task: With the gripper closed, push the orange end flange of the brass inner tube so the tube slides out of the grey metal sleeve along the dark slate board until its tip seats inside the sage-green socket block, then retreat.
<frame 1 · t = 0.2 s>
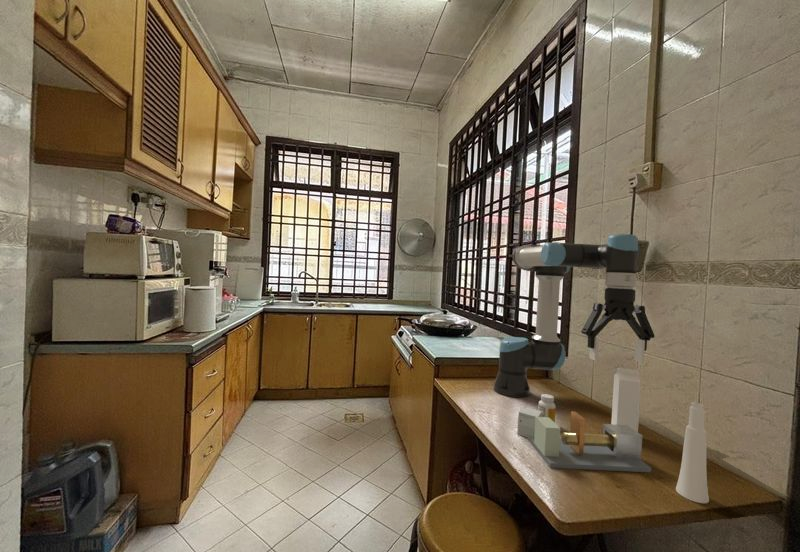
hand: (616, 360, 98), 27 cm above the countertop, fingers open, 13 cm apart
tube: (599, 433, 96), point 6 cm above the countertop, slide at 0.0 cm
board: (585, 455, 96), on the countertop
supplement bottle: (545, 424, 116), on the countertop
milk: (623, 436, 111), on the countertop
sleeve: (620, 457, 96), resting on board
cosmetic bottle: (691, 496, 81), on the countertop
socket: (545, 453, 96), resting on board
product box: (529, 434, 108), on the countertop
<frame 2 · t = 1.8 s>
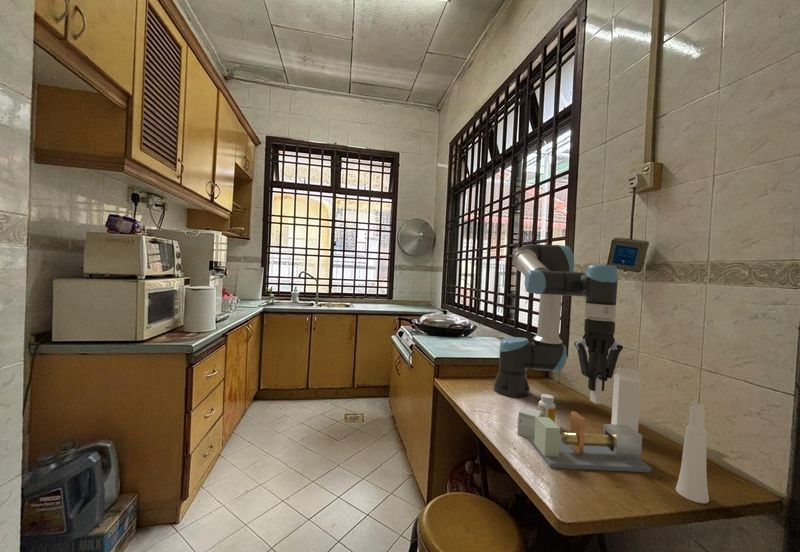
hand: (595, 401, 96), 16 cm above the countertop, fingers closed
nothing on the countertop moved.
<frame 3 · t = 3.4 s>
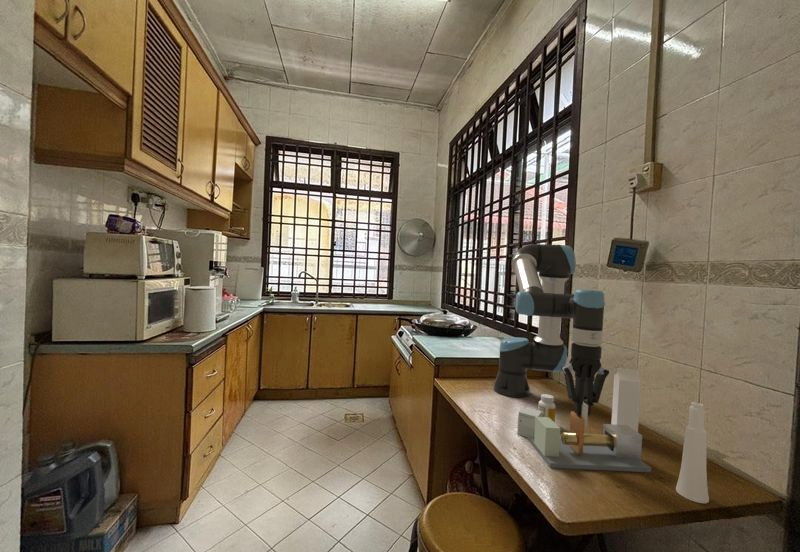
hand: (581, 426, 96), 8 cm above the countertop, fingers closed
tube: (598, 433, 96), point 6 cm above the countertop, slide at 0.1 cm, touching gripper
everything else where it was.
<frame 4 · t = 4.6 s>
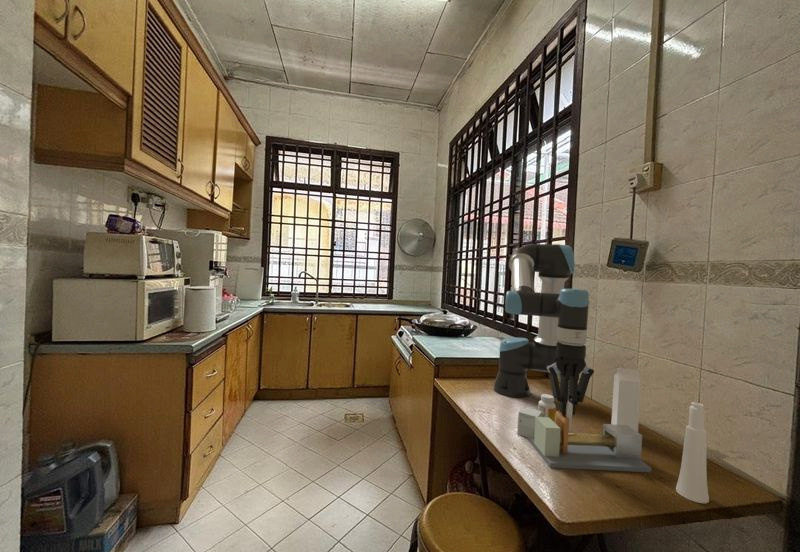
hand: (566, 425, 96), 8 cm above the countertop, fingers closed
tube: (583, 432, 96), point 6 cm above the countertop, slide at 4.5 cm, touching gripper
everything else where it was.
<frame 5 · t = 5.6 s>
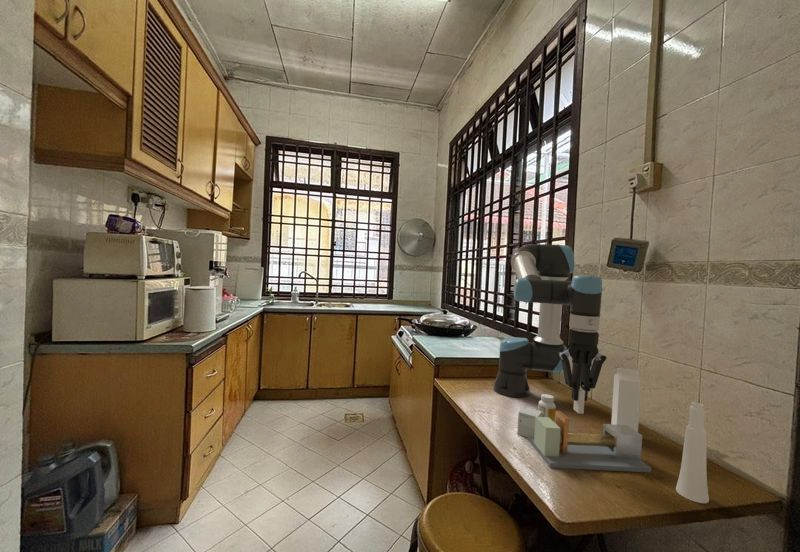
hand: (578, 411, 97), 12 cm above the countertop, fingers closed
tube: (583, 432, 96), point 6 cm above the countertop, slide at 4.5 cm
everything else where it was.
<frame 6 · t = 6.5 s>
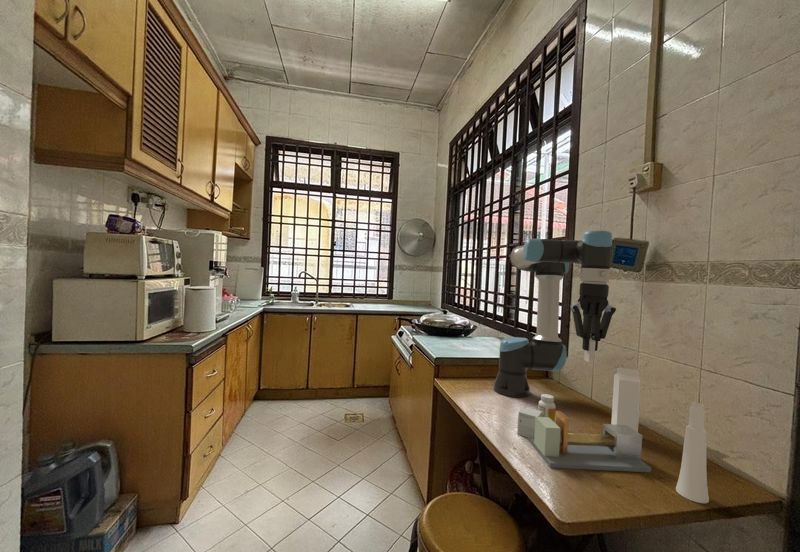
hand: (588, 361, 101), 26 cm above the countertop, fingers closed
nothing on the countertop moved.
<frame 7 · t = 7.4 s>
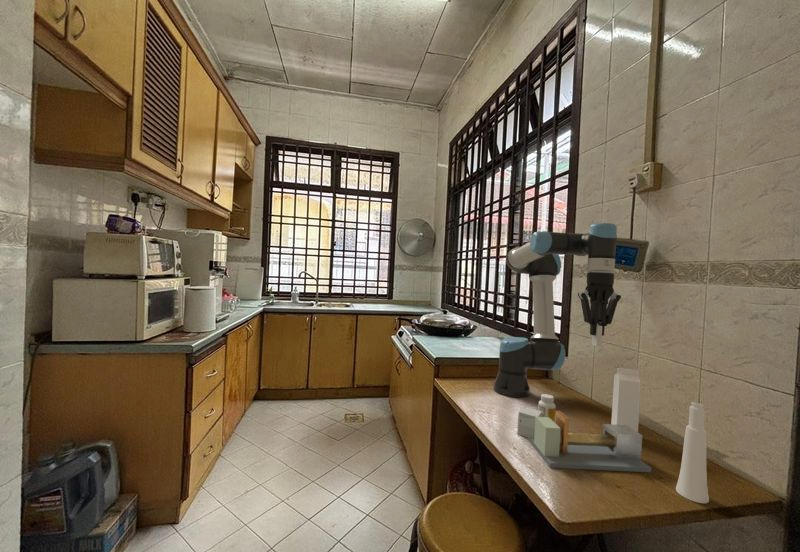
hand: (596, 345, 108), 29 cm above the countertop, fingers closed
nothing on the countertop moved.
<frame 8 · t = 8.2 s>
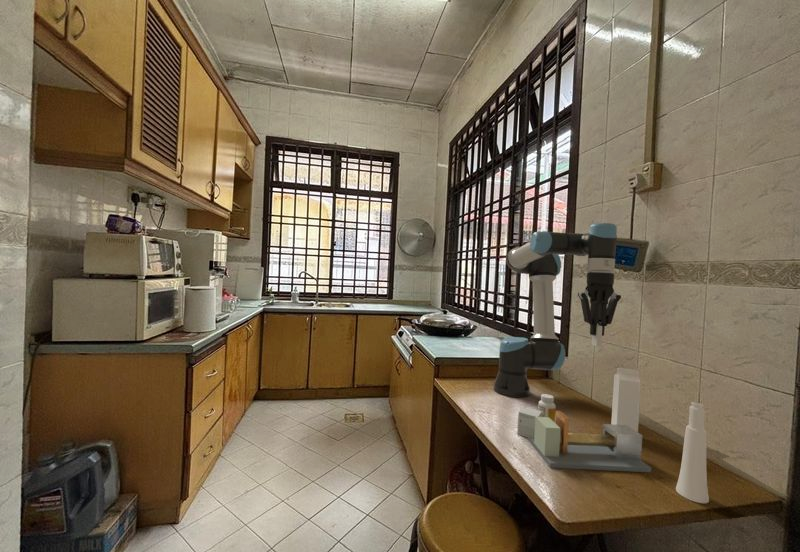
hand: (596, 345, 108), 29 cm above the countertop, fingers closed
nothing on the countertop moved.
at the end: tube slide at 4.5 cm; tube touching nothing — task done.
